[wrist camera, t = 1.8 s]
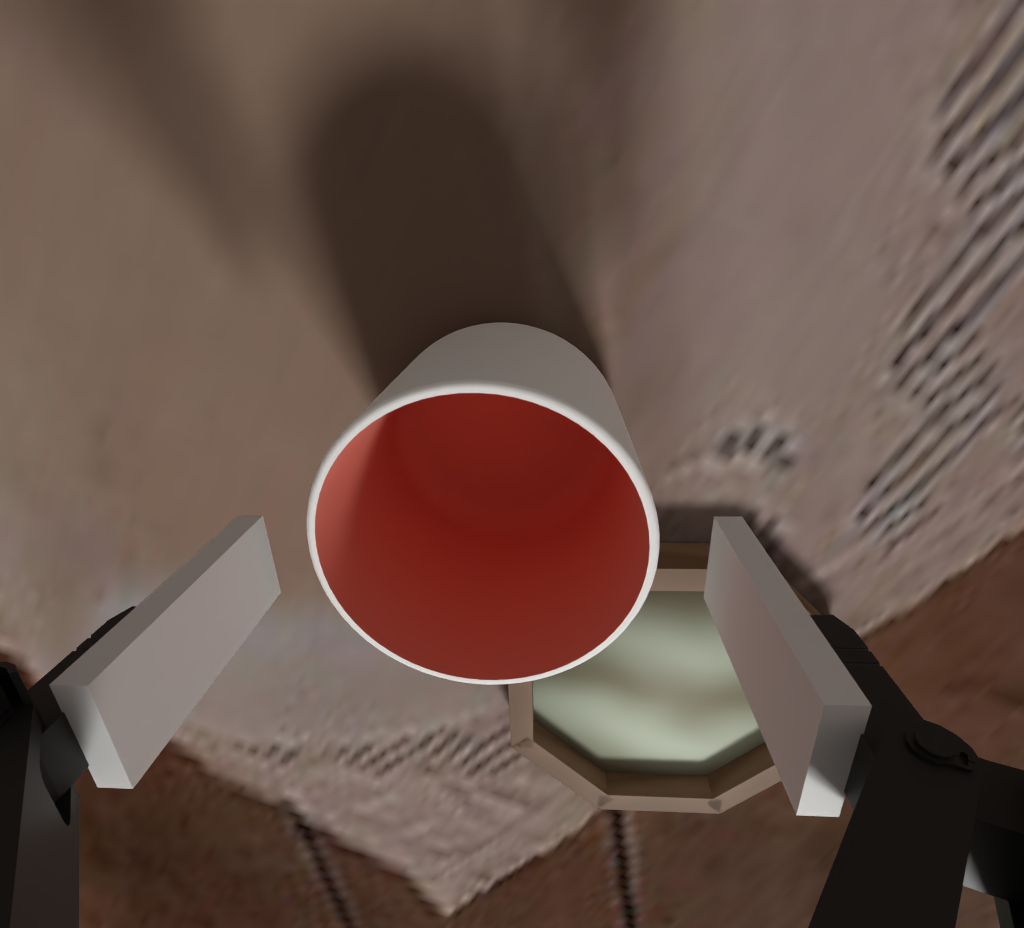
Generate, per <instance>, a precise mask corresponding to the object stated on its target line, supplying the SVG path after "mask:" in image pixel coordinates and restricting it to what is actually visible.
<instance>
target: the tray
mask: <svg viewBox="0 0 1024 928" xmlns="http://www.w3.org/2000/svg"><path fill="white" fill-rule="evenodd" d="M709 551H710V543H671V542H660V545H659V557H658V563H657V569H656V573H655V576H654V580H653V583H652V586H651V588H650V591H649V593H648V595H647V598H646V600H645V601H644V603H643V605H642V607H641V608H640V610H639V612H638V613H637V615H636V616H635V617H634V619H633V620H632V621H631V622H630V624H629V625H628V626H627V628H626V629H625V630H624V631H623V632H622V633H621V634H620V635H619V636H618V637H617V638H616V639H615V640H614V641H613V642H612V643H611V644H609V645H608V646H607V647H606V648H605V649H603V650H602V651H600V652H599V653H598V654H596V655H595V656H593V657H591V658H590V659H588V660H586V661H585V662H583V663H581V664H579V665H577V666H575V667H573V668H571V669H568V670H566V671H563V672H561V673H558V674H555V675H552V676H549V677H545V678H541V679H537V680H533V681H527V682H522V683H512V684H508V692H509V713H510V733H511V747H512V748H513V749H515V750H516V751H518V752H519V753H520V754H522V755H523V756H525V757H526V758H527V759H529V760H530V761H532V762H533V763H534V764H536V765H537V766H539V767H540V768H541V769H543V770H544V771H546V772H547V773H548V774H550V775H551V776H553V777H554V778H555V779H557V780H558V781H560V782H561V783H562V784H564V785H565V786H567V787H568V788H569V789H571V790H572V791H574V792H575V793H576V794H578V795H579V796H581V797H582V798H584V799H585V800H586V801H588V802H589V803H591V804H592V805H593V806H595V807H596V808H598V809H614V810H640V811H666V812H692V813H718V814H720V813H722V812H724V811H725V810H727V809H729V808H731V807H733V806H735V805H737V804H738V803H740V802H742V801H744V800H746V799H748V798H750V797H751V796H753V795H755V794H757V793H759V792H761V791H763V790H764V789H766V788H768V787H770V786H772V785H774V784H776V783H777V782H779V781H781V778H780V776H779V773H778V771H777V769H776V766H775V764H774V762H773V759H772V757H771V755H770V752H769V750H768V747H767V745H766V743H765V740H764V738H763V736H762V733H761V731H760V729H759V726H758V724H757V722H756V719H755V717H754V715H753V712H752V710H751V708H750V705H749V703H748V701H747V698H746V696H745V693H744V691H743V689H742V686H741V684H740V682H739V679H738V677H737V675H736V672H735V670H734V668H733V665H732V663H731V661H730V658H729V656H728V654H727V651H726V649H725V647H724V644H723V642H722V640H721V637H720V635H719V632H718V630H717V628H716V625H715V623H714V621H713V618H712V616H711V614H710V611H709V609H708V607H707V604H706V602H705V600H704V591H705V583H706V575H707V567H708V559H709ZM785 580H786V579H785ZM786 581H787V580H786ZM787 583H788V584H789V586H790V587H791V589H792V590H793V592H794V593H795V594H796V596H797V597H798V599H799V600H800V602H801V603H802V605H803V606H804V608H805V609H806V611H807V612H808V613H809V615H822V614H821V613H820V612H819V611H818V610H817V609H816V608H814V607H813V606H812V605H811V604H810V603H809V602H808V601H807V600H806V599H805V598H804V597H803V596H802V595H801V594H800V593H799V592H798V591H797V590H796V589H795V588H794V587H793V586H792V585H791V584H790V583H789V582H788V581H787Z"/></svg>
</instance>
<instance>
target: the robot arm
mask: <svg viewBox="0 0 1024 928" xmlns="http://www.w3.org/2000/svg"><path fill="white" fill-rule="evenodd" d="M280 593H281V591H280V586H279V582H278V578H277V574H276V569H275V565H274V561H273V557H272V553H271V548H270V544H269V540H268V536H267V532H266V527H265V523H264V519H263V516H237V517H236V518H235V519H234V520H233V521H231V522H230V523H229V524H228V525H227V526H226V527H225V528H224V529H223V530H221V531H220V532H219V533H218V534H217V535H216V536H215V537H214V538H213V539H211V540H210V541H209V542H208V543H207V544H206V545H205V546H204V547H202V548H201V549H200V550H199V551H198V552H197V553H196V554H195V555H194V556H192V557H191V558H190V559H189V560H188V561H187V562H186V563H185V564H183V565H182V566H181V567H180V568H179V569H178V570H177V571H176V572H175V573H173V574H172V575H171V576H170V577H169V578H168V579H167V580H166V581H165V582H163V583H162V584H161V585H160V586H159V587H158V588H157V589H156V590H154V591H153V592H152V593H151V594H150V595H149V596H148V597H147V598H146V599H144V600H143V601H142V602H141V603H140V604H139V605H138V606H137V607H135V606H132V607H130V608H129V609H127V610H125V611H123V612H122V613H120V614H118V615H116V616H115V617H113V618H111V619H109V620H108V621H107V622H106V623H105V624H104V625H102V626H101V627H100V628H99V629H98V630H97V631H95V632H94V633H93V634H92V635H91V638H87V639H86V640H85V641H84V642H83V643H82V644H81V645H79V646H78V647H77V650H76V651H72V652H71V653H70V654H69V655H68V656H67V657H66V658H64V659H63V660H62V661H61V662H60V663H59V664H58V665H56V666H55V667H54V668H53V669H52V670H51V671H49V672H48V673H47V674H46V675H45V676H44V677H43V678H41V679H40V680H39V681H38V682H37V683H36V684H35V685H33V686H32V687H31V688H30V689H29V690H27V688H26V686H25V684H24V682H23V680H22V678H21V676H20V674H19V672H18V670H17V668H16V666H15V665H14V664H11V663H9V662H0V928H79V794H78V791H77V789H76V787H75V785H74V782H75V781H76V780H77V779H78V778H79V776H80V775H81V774H82V773H83V772H84V771H85V770H86V768H87V767H88V768H89V770H90V772H91V774H92V776H93V779H94V781H95V783H96V785H97V787H102V788H127V789H133V788H134V787H135V785H136V784H137V783H138V781H139V780H140V779H141V777H142V776H143V775H144V773H145V772H146V771H147V769H148V768H149V767H150V765H151V764H152V763H153V761H154V760H155V759H156V757H157V756H158V755H159V753H160V752H161V751H162V750H163V748H164V747H165V746H166V744H167V743H168V742H169V740H170V739H171V738H172V736H173V735H174V734H175V732H176V731H177V730H178V728H179V727H180V726H181V724H182V723H183V722H184V720H185V719H186V718H187V716H188V715H189V714H190V712H191V711H192V710H193V708H194V707H195V706H196V704H197V703H198V702H199V700H200V699H201V698H202V697H203V695H204V694H205V693H206V691H207V690H208V689H209V687H210V686H211V685H212V683H213V682H214V681H215V679H216V678H217V677H218V675H219V674H220V673H221V671H222V670H223V669H224V667H225V666H226V665H227V663H228V662H229V661H230V659H231V658H232V657H233V655H234V654H235V653H236V651H237V650H238V649H239V648H240V646H241V645H242V644H243V642H244V641H245V640H246V638H247V637H248V636H249V634H250V633H251V632H252V630H253V629H254V628H255V626H256V625H257V624H258V622H259V621H260V620H261V618H262V617H263V616H264V614H265V613H266V612H267V610H268V609H269V608H270V606H271V605H272V604H273V602H274V601H275V600H276V598H277V597H278V596H279V595H280ZM704 600H705V602H706V604H707V607H708V609H709V611H710V614H711V616H712V618H713V621H714V623H715V625H716V628H717V630H718V632H719V635H720V637H721V640H722V642H723V644H724V647H725V649H726V651H727V654H728V656H729V658H730V661H731V663H732V665H733V668H734V670H735V672H736V675H737V677H738V679H739V682H740V684H741V686H742V689H743V691H744V693H745V696H746V698H747V701H748V703H749V705H750V708H751V710H752V712H753V715H754V717H755V719H756V722H757V724H758V726H759V729H760V731H761V733H762V736H763V738H764V740H765V743H766V745H767V747H768V750H769V752H770V755H771V757H772V759H773V762H774V764H775V766H776V769H777V771H778V773H779V776H780V778H781V780H782V783H783V785H784V787H785V790H786V792H787V794H788V797H789V799H790V801H791V804H792V806H793V808H794V811H795V813H796V815H804V816H829V817H839V815H840V812H841V808H842V805H843V801H844V798H845V795H846V796H847V798H848V800H849V802H850V804H851V806H852V808H853V810H854V812H853V814H852V817H851V819H850V822H849V824H848V827H847V830H846V832H845V835H844V837H843V840H842V842H841V845H840V848H839V850H838V853H837V855H836V858H835V860H834V863H833V866H832V868H831V871H830V873H829V876H828V878H827V881H826V884H825V886H824V889H823V891H822V894H821V896H820V899H819V902H818V904H817V907H816V909H815V912H814V914H813V917H812V920H811V922H810V925H809V927H808V928H955V925H956V920H957V914H958V909H959V903H960V898H961V892H962V887H963V886H966V887H969V888H972V889H975V890H977V891H980V892H983V893H986V894H989V895H992V896H994V899H995V904H996V909H997V914H998V919H999V923H1000V928H1024V770H1021V769H1017V768H1013V767H1010V766H1006V765H1002V764H998V763H995V762H991V761H988V760H985V759H982V758H979V757H978V756H977V755H976V753H975V752H974V751H973V749H972V748H971V747H970V746H969V745H968V744H967V743H965V742H964V741H963V740H962V739H961V738H960V737H958V736H957V735H956V734H954V733H952V732H950V731H949V730H947V729H945V728H943V727H942V726H940V725H937V724H934V723H932V722H929V721H926V720H923V718H922V717H921V716H920V715H919V713H918V712H917V711H916V709H915V708H914V707H913V705H912V704H911V703H910V702H909V700H908V699H907V698H906V696H905V695H904V694H903V693H902V691H901V690H900V689H899V687H898V686H897V685H896V684H895V682H894V681H893V680H892V678H891V677H890V676H889V674H888V673H887V672H886V671H885V669H884V668H883V667H882V666H880V665H879V662H878V660H877V659H876V658H875V656H874V655H873V654H872V652H869V651H868V647H867V646H866V645H865V643H864V642H863V641H862V640H861V638H860V637H859V636H858V634H857V633H856V632H855V631H854V630H853V629H852V628H850V627H849V626H848V625H846V624H845V623H843V622H842V621H841V620H839V619H838V618H837V617H835V616H834V615H809V613H808V612H807V611H806V609H805V608H804V606H803V605H802V603H801V602H800V600H799V599H798V597H797V596H796V594H795V593H794V592H793V590H792V589H791V587H790V586H789V584H788V583H787V581H786V580H785V578H784V577H783V576H782V574H781V573H780V571H779V570H778V568H777V567H776V565H775V564H774V562H773V561H772V560H771V558H770V557H769V555H768V554H767V552H766V551H765V549H764V548H763V546H762V545H761V544H760V542H759V541H758V539H757V538H756V536H755V535H754V533H753V532H752V530H751V529H750V527H749V526H748V525H747V523H746V522H745V520H744V519H743V517H742V516H714V519H713V527H712V535H711V543H710V551H709V559H708V567H707V575H706V583H705V591H704Z"/></svg>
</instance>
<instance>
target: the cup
mask: <svg viewBox="0 0 1024 928" xmlns="http://www.w3.org/2000/svg"><path fill="white" fill-rule="evenodd" d="M307 538H308V544H309V550H310V555H311V558H312V562H313V565H314V568H315V571H316V573H317V576H318V578H319V580H320V583H321V585H322V587H323V589H324V590H325V592H326V594H327V596H328V597H329V599H330V601H331V602H332V603H333V605H334V606H335V608H336V609H337V610H338V612H339V613H340V614H341V616H342V617H343V618H344V619H345V620H346V621H347V622H348V623H349V624H350V625H351V627H352V628H353V629H354V630H355V631H357V632H358V633H359V634H360V635H361V636H362V637H363V638H364V639H366V640H367V641H368V642H369V643H371V644H372V645H374V646H375V647H376V648H378V649H379V650H380V651H382V652H384V653H385V654H387V655H389V656H390V657H392V658H393V659H395V660H397V661H399V662H401V663H403V664H405V665H407V666H409V667H412V668H414V669H417V670H419V671H422V672H424V673H427V674H431V675H434V676H437V677H440V678H445V679H449V680H454V681H459V682H466V683H475V684H512V683H522V682H527V681H533V680H537V679H541V678H545V677H549V676H552V675H555V674H558V673H561V672H563V671H566V670H568V669H571V668H573V667H575V666H577V665H579V664H581V663H583V662H585V661H586V660H588V659H590V658H591V657H593V656H595V655H596V654H598V653H599V652H600V651H602V650H603V649H605V648H606V647H607V646H608V645H609V644H611V643H612V642H613V641H614V640H615V639H616V638H617V637H618V636H619V635H620V634H621V633H622V632H623V631H624V630H625V629H626V628H627V626H628V625H629V624H630V622H631V621H632V620H633V619H634V617H635V616H636V615H637V613H638V612H639V610H640V608H641V607H642V605H643V603H644V601H645V600H646V598H647V595H648V593H649V591H650V588H651V586H652V583H653V580H654V576H655V573H656V569H657V563H658V557H659V545H660V535H659V524H658V517H657V511H656V508H655V504H654V501H653V497H652V494H651V491H650V489H649V486H648V484H647V481H646V478H645V476H644V473H643V470H642V468H641V465H640V463H639V460H638V457H637V455H636V452H635V449H634V447H633V444H632V442H631V439H630V436H629V434H628V431H627V429H626V426H625V423H624V421H623V418H622V416H621V413H620V410H619V408H618V405H617V403H616V400H615V398H614V395H613V393H612V390H611V389H610V387H609V385H608V383H607V381H606V380H605V378H604V376H603V375H602V374H601V372H600V371H599V370H598V368H597V367H596V366H595V365H594V364H593V363H592V361H591V360H590V359H589V358H588V357H587V356H586V355H585V354H583V353H582V352H581V351H580V350H578V349H577V348H576V347H575V346H573V345H572V344H570V343H569V342H567V341H566V340H564V339H563V338H561V337H559V336H557V335H555V334H553V333H550V332H548V331H545V330H542V329H540V328H536V327H532V326H528V325H524V324H517V323H505V322H501V323H486V324H479V325H474V326H470V327H467V328H463V329H460V330H458V331H455V332H453V333H450V334H448V335H446V336H445V337H443V338H441V339H439V340H438V341H436V342H434V343H433V344H431V345H430V346H429V347H428V348H426V349H425V350H424V351H423V352H421V353H420V354H419V355H418V356H417V357H416V358H415V359H414V360H413V361H412V362H411V363H410V364H409V365H408V366H407V367H406V368H405V369H404V370H403V371H402V372H401V373H400V374H399V375H398V376H397V377H396V378H395V379H394V380H393V381H392V382H391V383H390V384H389V385H388V386H387V387H386V389H385V390H384V391H383V392H382V393H381V394H380V395H379V396H378V397H377V398H376V399H375V400H374V401H373V402H372V403H371V404H370V405H369V406H368V407H367V408H366V409H365V410H364V411H363V412H362V413H361V414H360V415H359V416H358V417H357V418H356V419H355V420H354V421H353V422H352V423H351V424H350V425H349V426H348V427H347V428H346V429H345V430H344V431H343V432H342V433H341V434H340V435H339V437H338V438H337V439H336V440H335V442H334V443H333V444H332V446H331V447H330V449H329V450H328V451H327V453H326V455H325V457H324V458H323V460H322V462H321V464H320V466H319V468H318V471H317V473H316V476H315V478H314V481H313V484H312V487H311V491H310V496H309V501H308V508H307Z"/></svg>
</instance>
